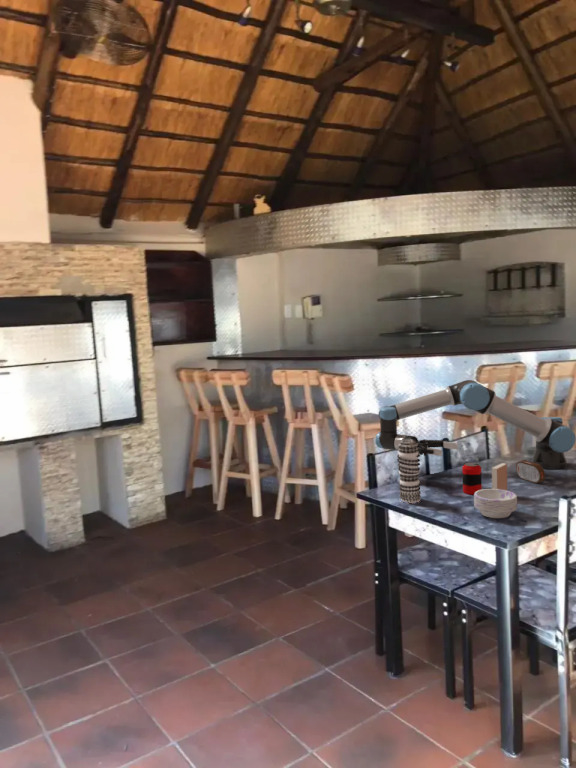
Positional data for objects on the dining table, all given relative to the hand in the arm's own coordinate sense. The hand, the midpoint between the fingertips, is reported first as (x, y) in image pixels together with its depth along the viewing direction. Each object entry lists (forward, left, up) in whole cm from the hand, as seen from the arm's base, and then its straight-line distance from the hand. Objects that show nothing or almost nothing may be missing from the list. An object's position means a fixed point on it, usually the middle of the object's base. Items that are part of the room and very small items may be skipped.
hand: (449, 449), depth 260 cm
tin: (-34, -13, -17) cm, 40 cm away
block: (-19, +11, -17) cm, 28 cm away
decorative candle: (+16, +17, -17) cm, 29 cm away
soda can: (-9, +5, -17) cm, 20 cm away
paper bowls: (-16, +32, -17) cm, 40 cm away
